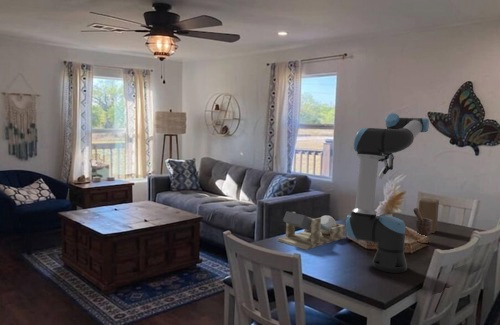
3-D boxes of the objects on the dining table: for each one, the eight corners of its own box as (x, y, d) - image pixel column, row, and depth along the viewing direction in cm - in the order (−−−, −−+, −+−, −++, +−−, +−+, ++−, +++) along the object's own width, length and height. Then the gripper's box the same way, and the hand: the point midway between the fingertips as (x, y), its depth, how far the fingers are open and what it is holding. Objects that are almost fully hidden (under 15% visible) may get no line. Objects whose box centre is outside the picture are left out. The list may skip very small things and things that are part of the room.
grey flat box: (303, 225, 214) (307, 213, 215) (281, 220, 225) (285, 208, 227) (325, 240, 229) (329, 228, 230) (304, 234, 240) (308, 223, 242)
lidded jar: (312, 219, 239) (317, 227, 245) (320, 230, 231) (326, 239, 237) (327, 209, 239) (333, 218, 245) (336, 220, 231) (341, 229, 236)
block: (416, 231, 256) (418, 199, 254) (420, 228, 265) (422, 197, 263) (433, 234, 251) (436, 202, 249) (436, 230, 259) (439, 199, 257)
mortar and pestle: (423, 246, 225) (426, 210, 223) (409, 242, 232) (411, 207, 230) (433, 242, 233) (436, 208, 231) (418, 238, 239) (421, 205, 237)
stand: (305, 249, 214) (307, 221, 212) (278, 240, 228) (278, 214, 227) (344, 238, 237) (345, 212, 236) (316, 230, 252) (317, 206, 250)
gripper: (409, 154, 224) (391, 183, 217) (372, 151, 244) (354, 177, 237) (404, 145, 220) (385, 174, 213) (366, 142, 240) (348, 169, 233)
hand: (369, 176), depth 225 cm, fingers open, 13 cm apart
